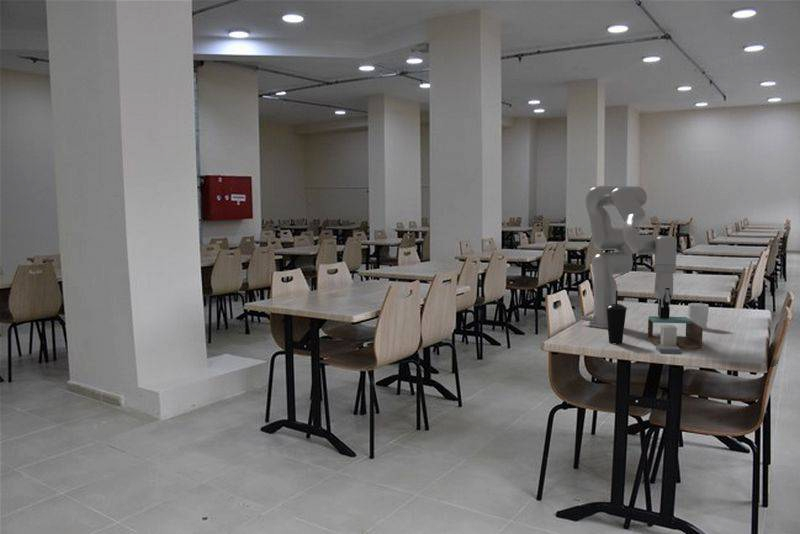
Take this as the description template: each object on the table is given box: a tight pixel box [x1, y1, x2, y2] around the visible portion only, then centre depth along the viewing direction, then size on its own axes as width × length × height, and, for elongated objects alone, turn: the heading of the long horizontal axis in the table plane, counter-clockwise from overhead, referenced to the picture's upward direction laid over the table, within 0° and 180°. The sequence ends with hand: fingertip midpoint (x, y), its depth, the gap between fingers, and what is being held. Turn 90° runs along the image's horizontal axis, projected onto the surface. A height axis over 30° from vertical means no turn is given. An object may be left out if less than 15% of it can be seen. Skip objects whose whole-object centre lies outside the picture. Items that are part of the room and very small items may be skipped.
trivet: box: [655, 345, 682, 354], centre depth 236 cm, size 7×6×2 cm
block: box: [660, 324, 678, 345], centre depth 244 cm, size 4×4×8 cm
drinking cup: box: [606, 289, 628, 345], centre depth 251 cm, size 8×8×20 cm
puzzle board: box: [647, 318, 704, 351], centre depth 248 cm, size 15×18×8 cm
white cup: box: [687, 302, 710, 330], centre depth 279 cm, size 8×8×10 cm
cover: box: [648, 305, 692, 324], centre depth 251 cm, size 14×8×6 cm, turn 81°
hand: (663, 316), depth 252 cm, fingers closed on cover, 3 cm apart
